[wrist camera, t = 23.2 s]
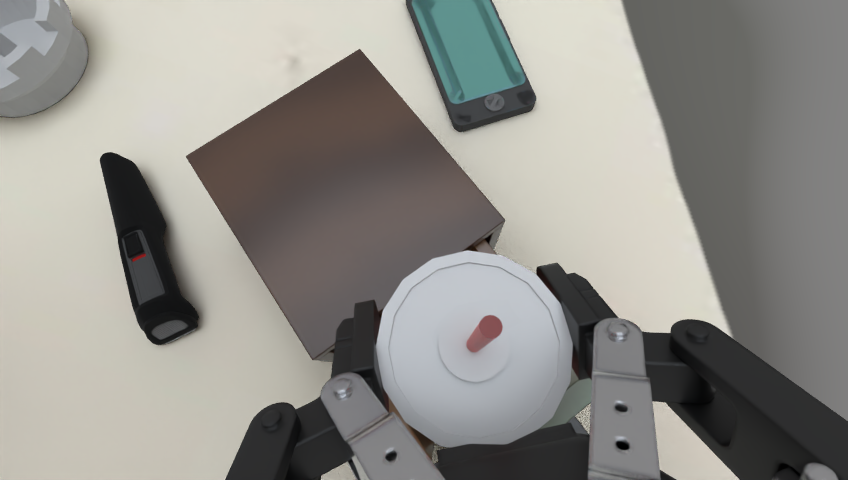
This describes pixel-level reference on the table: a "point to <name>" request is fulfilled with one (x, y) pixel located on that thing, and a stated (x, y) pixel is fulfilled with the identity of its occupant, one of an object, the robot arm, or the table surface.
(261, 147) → the cabinet
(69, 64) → the flag stand
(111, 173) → the electric trimmer
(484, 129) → the table surface
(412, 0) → the smartphone
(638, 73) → the table surface
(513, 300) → the beverage cup
